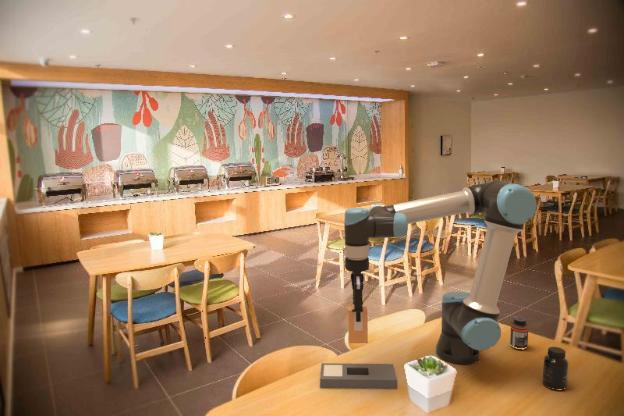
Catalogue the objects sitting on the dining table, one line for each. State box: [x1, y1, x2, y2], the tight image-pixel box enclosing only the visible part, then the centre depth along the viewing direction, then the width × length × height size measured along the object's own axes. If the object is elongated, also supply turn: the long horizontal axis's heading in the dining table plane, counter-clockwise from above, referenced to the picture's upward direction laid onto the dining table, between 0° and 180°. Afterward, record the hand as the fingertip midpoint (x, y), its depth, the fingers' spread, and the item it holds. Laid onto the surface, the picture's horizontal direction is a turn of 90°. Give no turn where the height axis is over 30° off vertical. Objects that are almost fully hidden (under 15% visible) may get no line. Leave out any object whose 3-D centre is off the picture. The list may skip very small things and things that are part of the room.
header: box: [319, 362, 398, 390], centre depth 144 cm, size 24×10×4 cm, turn 86°
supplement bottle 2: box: [542, 346, 569, 389], centre depth 139 cm, size 7×7×12 cm
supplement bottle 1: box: [509, 316, 529, 348], centre depth 165 cm, size 6×6×11 cm
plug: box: [347, 305, 369, 344], centre depth 143 cm, size 6×4×11 cm, turn 87°
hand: (357, 327), depth 143 cm, fingers closed on plug, 3 cm apart
